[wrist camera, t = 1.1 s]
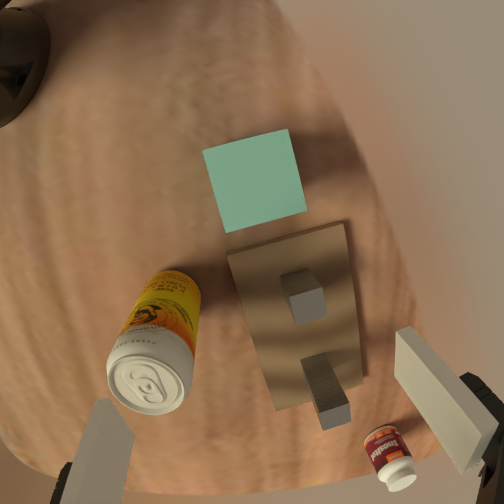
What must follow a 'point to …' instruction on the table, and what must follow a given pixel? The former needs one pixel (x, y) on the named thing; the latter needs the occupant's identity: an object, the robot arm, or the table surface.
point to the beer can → (157, 346)
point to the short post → (303, 296)
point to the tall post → (325, 391)
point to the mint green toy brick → (255, 180)
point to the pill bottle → (390, 458)
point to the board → (279, 316)
